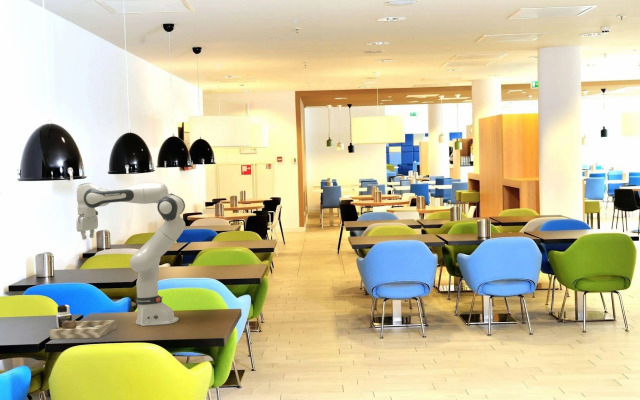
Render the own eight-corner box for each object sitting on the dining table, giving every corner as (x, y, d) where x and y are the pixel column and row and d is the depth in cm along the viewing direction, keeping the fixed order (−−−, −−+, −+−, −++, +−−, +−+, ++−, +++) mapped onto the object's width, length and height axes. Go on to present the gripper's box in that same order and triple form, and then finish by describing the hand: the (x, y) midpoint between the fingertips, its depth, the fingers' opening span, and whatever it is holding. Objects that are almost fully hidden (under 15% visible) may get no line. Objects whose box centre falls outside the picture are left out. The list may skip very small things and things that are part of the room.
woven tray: (115, 328, 379) (115, 320, 379) (99, 337, 359) (98, 328, 359) (69, 330, 382) (68, 321, 382) (49, 339, 362) (49, 330, 362)
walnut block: (76, 328, 374) (75, 320, 374) (71, 330, 369) (71, 322, 369) (67, 328, 374) (66, 320, 374) (62, 330, 369) (61, 322, 369)
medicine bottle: (58, 329, 385) (57, 307, 385) (56, 327, 392) (55, 305, 391) (72, 327, 388) (71, 305, 388) (70, 325, 395) (69, 303, 394)
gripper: (84, 214, 381) (85, 240, 382) (99, 211, 401) (101, 236, 402) (72, 214, 382) (74, 240, 382) (88, 212, 402) (90, 237, 403)
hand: (88, 238), depth 392 cm, fingers open, 8 cm apart
